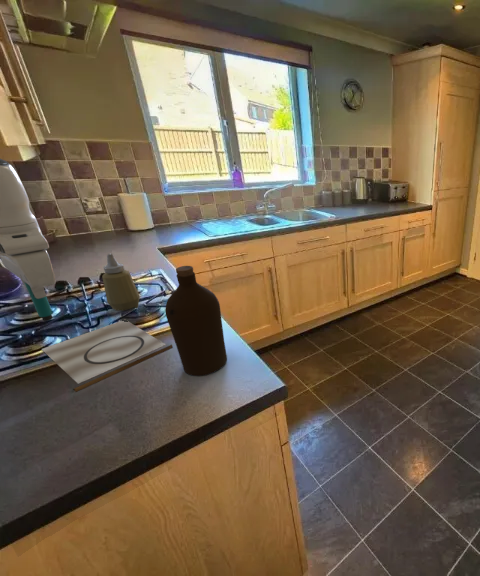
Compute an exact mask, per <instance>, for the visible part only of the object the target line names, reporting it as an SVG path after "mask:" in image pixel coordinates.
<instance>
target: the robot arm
mask: <svg viewBox="0 0 480 576" xmlns="http://www.w3.org/2000/svg"><path fill="white" fill-rule="evenodd" d="M30 208H31V207H30V199H29V196H28V194H27V192H26V188H25V187H24V184H23V183H22V180H21V178H20V176H19V174H18V173H17V171H16V169H15V168H14V167H13V166H12V165H11V163H10V162H8V161H6V160H4V159H2V158H0V261H1V263H2V265H3V266H4V268H5V269H6V270H8V271H9V272H10V273H12V274H13V275H14V276H16V277H17V278H19V279H20V281H21V283H22V284H23V285H24V287H25V288H26V291H27V292H28V290H27V287H26V285H25V283H27V284H28V285H29V286H30V287H31V291H32V294H33V296H34V297H35V298H37V299H39V298H43V297H47V294H46V290H45V288H46V287H51V286H53V285H55V284H56V275H55V272H54V269H53V265H52V261H51V258H50V255H49V253H48V251H47V250H49V249H50V244H49V241H48V240H47V239H46V238H45V236H44V235H43V233H42V230H41V228H40V225H39V223H38V220H37V218H36V216H35V215H34V213H33V212H32V211H31V209H30ZM24 282H25V283H24Z"/></svg>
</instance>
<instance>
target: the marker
mask: <svg viewBox="0 0 480 576" xmlns="http://www.w3.org/2000/svg"><path fill="white" fill-rule="evenodd" d="M24 283H25V282H24ZM25 285H26V287H27V289H26V291H27V290H28V291H27V292H28V294H29V297H30V299H31V301H32V304H33V306H34V309H35V311H36V313H37V315H38V317H39V318H41V319H42V321H44V322H46V321H50V320H52V319H54V318H53V314H54V312H53V309H52V306H51V305H50V303H49V300H48V297H47V296H46V297H43V298H39V299H37V298H35V297H34V296H33V294H32V291H31V287H30V286H29V285H28V284H27V283H25ZM25 285H24V286H25ZM26 287H25V288H26Z"/></svg>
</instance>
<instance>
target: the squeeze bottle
mask: <svg viewBox="0 0 480 576" xmlns="http://www.w3.org/2000/svg"><path fill="white" fill-rule="evenodd" d="M106 260H107V261H106V263H107V264H106V265H104V266H103V271H104V274H102V275H101V276H102V277H101V278H102V282H103V288H104V292H105V298H106V301H107V304H108V305H109V307H111V308H112V310H114V311H118V312H119V311H120V312H122V311H127V310H131V309H134V308H135V309H138V308H139V305H140V297H141V295H140V294H139V292H138V289H137V287H136V284H135V282H134V279H133V277H132V275H131V273H130V271H129V270H127V269H125V266H124V264H123V263H120V262H118V261H117V259H116V257H115V255H114V254H113V253H111V252H110V253H107V254H106Z"/></svg>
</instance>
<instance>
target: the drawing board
mask: <svg viewBox="0 0 480 576" xmlns="http://www.w3.org/2000/svg"><path fill="white" fill-rule="evenodd" d="M160 348H161V349H160ZM173 348H174V346H173V344H170V345H168V346H167V344H166V343H164V342H162V341H161V340H160V339H158V338H156V337H154V336H153V335H151V334H149V333H148V332H146V331H145V330H143V329H142V328H140V327H139V326H137V325H135V324H133V323H132V322H130V321H128V322H124V321H122V320H120V321H117V322H114V323H111V324H108V325H106V326H103V327H100V328H96V329H94V330H91V331H88V332H86V333H83V334H80V335H77V336H75V337H71V338H70V339H66V340H64V341H61V342H58V343H54V344H52V345H49V346H46V347H44V348H41V351H42V352H44V353H45V354H46V355H47V356H48V357H49V358H50V359H51V360H52V361H53V362H54V363H55V364H56V365H57V366H58V367H59V368H60V369H61V370H63V371H64V372H65V374H67V375H68V376H69V377H70V378H71V379H72V380H73V381H74V382H75V383H76V384H78V385H79V384H81V385H79V386H76V387H74V388H72V390H73V391H74V392H75V393H78V392H79V391H82V390H84V389H86V388H88V387H90V386H93V385H95V384H97V383H99V382H101V381H103V380H106V379H108V378H110V377H112V376H114V375H116V374H119V373H121V372H123V371H125V370H127V369H130V368H132V367H135V366H136V365H138V364H141V363H142V362H144V361H147V360H149V359H152V358H154V357H156V356H158V355H160V354H162V353H164V352H167V351H169V350H171V349H173ZM153 351H154V352H153ZM151 352H152V353H151ZM149 353H150V354H149ZM144 355H145V356H144ZM142 356H143V357H142ZM140 357H141V358H140ZM137 358H139V359H137ZM133 360H134V361H133ZM130 361H132V362H130ZM129 362H130V363H129ZM126 363H127V364H126ZM122 365H123V366H122ZM120 366H121V367H120ZM118 367H119V368H118ZM115 368H116V369H115ZM113 369H114V370H113ZM110 370H112V371H110ZM109 371H110V372H109ZM103 373H105V374H103ZM99 375H101V376H99ZM97 376H99V377H97ZM95 377H96V378H95ZM92 378H94V379H92ZM90 379H92V380H90ZM88 380H90V381H88ZM86 381H88V382H86ZM83 382H84V383H83ZM85 382H86V383H85ZM82 383H83V384H82Z"/></svg>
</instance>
